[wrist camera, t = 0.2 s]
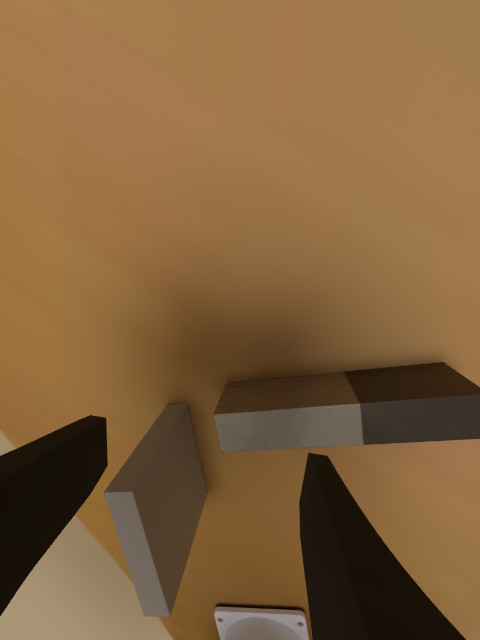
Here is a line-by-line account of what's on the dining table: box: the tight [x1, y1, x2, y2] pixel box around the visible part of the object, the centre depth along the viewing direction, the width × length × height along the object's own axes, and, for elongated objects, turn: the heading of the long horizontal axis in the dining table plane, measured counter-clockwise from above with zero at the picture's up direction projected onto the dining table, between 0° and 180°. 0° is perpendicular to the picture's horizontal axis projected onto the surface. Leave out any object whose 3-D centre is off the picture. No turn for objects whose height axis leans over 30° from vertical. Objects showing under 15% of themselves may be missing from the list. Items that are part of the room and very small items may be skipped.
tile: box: [104, 402, 207, 617], centre depth 18 cm, size 8×2×8 cm, turn 10°
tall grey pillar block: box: [214, 362, 480, 452], centre depth 17 cm, size 14×2×4 cm, turn 100°
